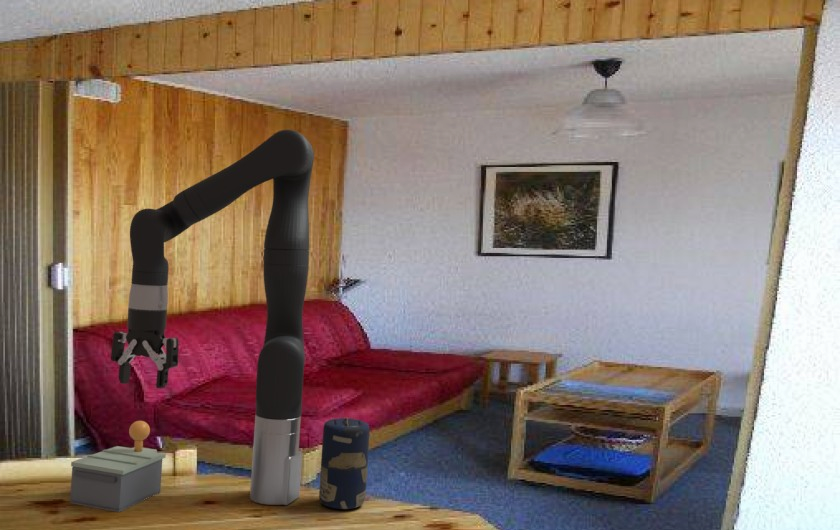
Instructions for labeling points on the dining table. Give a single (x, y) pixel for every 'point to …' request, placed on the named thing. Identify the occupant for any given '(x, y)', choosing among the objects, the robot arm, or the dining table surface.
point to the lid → (123, 454)
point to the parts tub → (115, 487)
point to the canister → (344, 463)
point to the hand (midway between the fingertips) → (142, 385)
